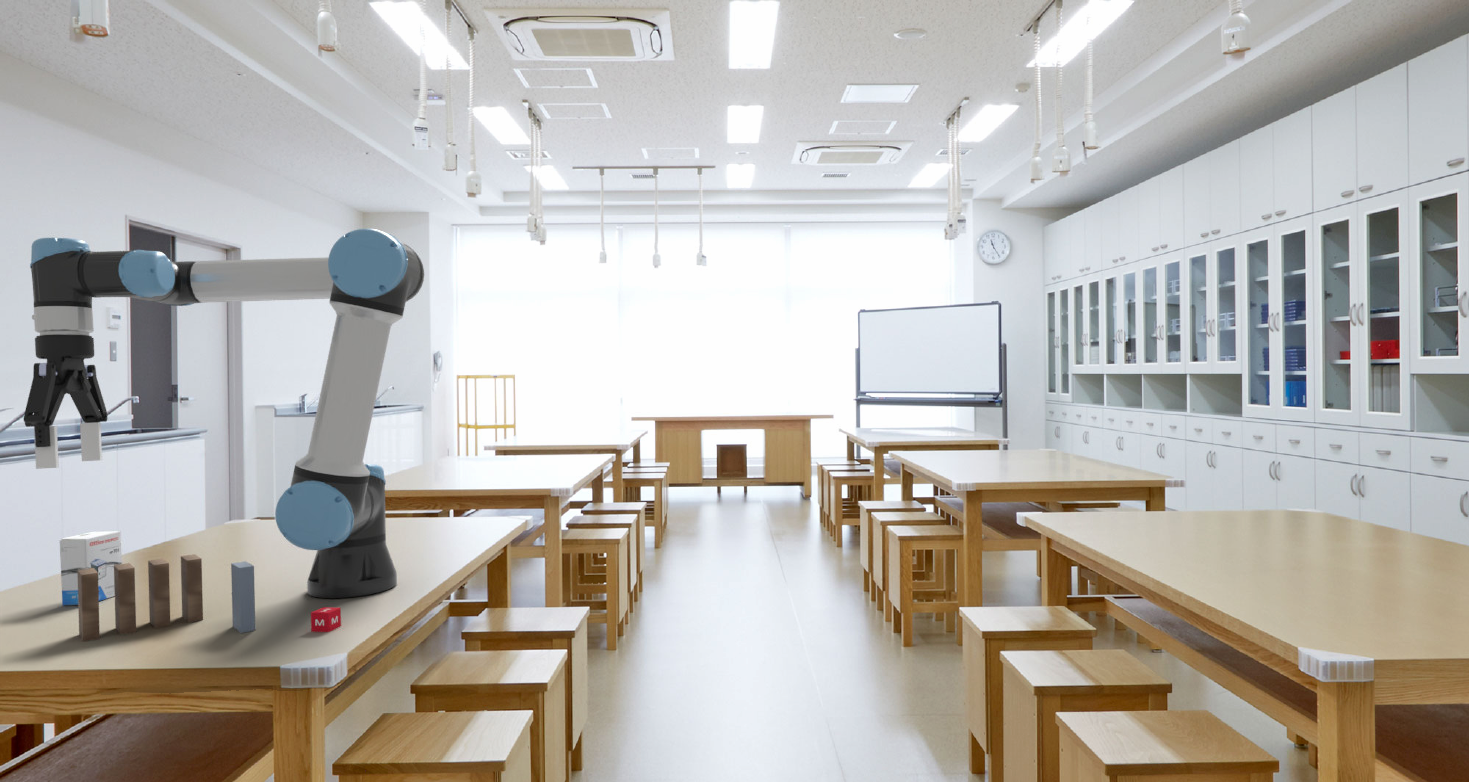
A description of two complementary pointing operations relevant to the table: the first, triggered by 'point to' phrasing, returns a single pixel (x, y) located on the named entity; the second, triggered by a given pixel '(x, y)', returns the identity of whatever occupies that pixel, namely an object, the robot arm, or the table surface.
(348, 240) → the robot arm
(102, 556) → the ink box
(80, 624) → the end domino
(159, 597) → the domino
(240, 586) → the domino
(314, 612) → the red letter cube
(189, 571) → the domino
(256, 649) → the table surface
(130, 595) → the domino
